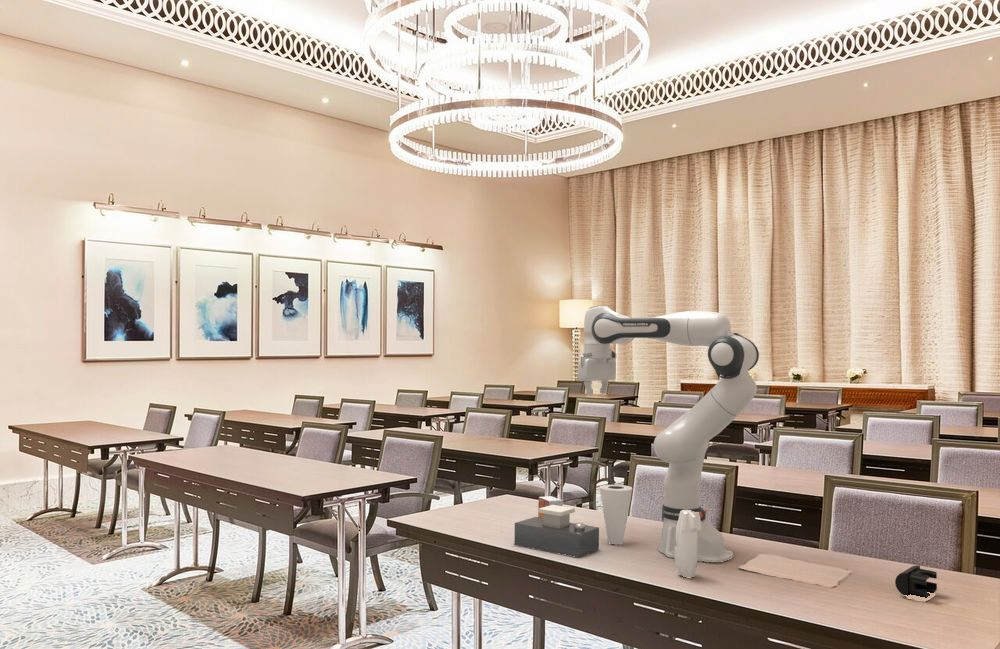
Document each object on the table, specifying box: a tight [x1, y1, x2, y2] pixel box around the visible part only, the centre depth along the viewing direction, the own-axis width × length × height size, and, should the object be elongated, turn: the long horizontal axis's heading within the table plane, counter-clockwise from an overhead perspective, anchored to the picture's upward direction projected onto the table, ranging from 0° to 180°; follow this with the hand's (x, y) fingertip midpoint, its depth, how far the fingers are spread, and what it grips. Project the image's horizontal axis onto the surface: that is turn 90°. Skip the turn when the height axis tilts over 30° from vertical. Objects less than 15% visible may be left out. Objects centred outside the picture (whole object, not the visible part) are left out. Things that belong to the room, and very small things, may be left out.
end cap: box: [894, 565, 938, 598], centre depth 192 cm, size 10×7×7 cm
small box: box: [537, 495, 564, 518], centre depth 262 cm, size 8×6×10 cm
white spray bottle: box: [674, 510, 702, 578], centre depth 207 cm, size 7×18×7 cm
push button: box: [537, 505, 576, 529], centre depth 236 cm, size 8×8×7 cm
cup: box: [598, 484, 633, 545], centre depth 243 cm, size 11×11×18 cm
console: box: [513, 516, 600, 559], centre depth 236 cm, size 24×12×9 cm, turn 53°
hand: (596, 394), depth 253 cm, fingers open, 8 cm apart
